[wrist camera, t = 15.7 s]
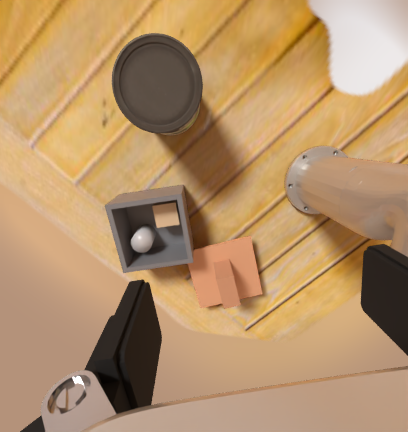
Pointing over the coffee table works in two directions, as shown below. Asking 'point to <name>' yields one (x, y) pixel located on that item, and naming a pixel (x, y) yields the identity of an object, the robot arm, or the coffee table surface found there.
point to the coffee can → (158, 84)
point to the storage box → (151, 228)
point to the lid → (225, 273)
